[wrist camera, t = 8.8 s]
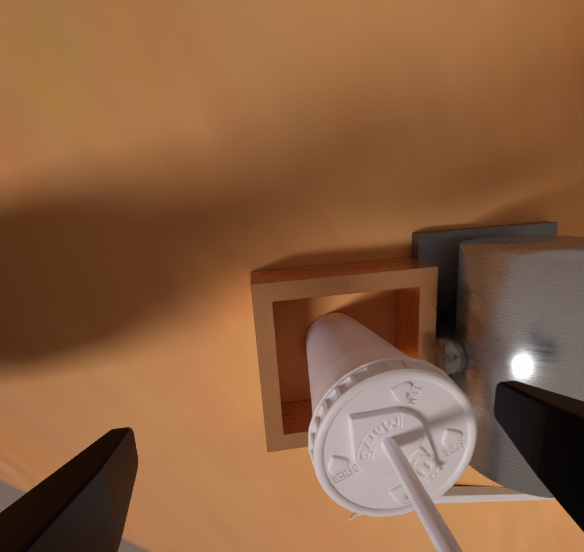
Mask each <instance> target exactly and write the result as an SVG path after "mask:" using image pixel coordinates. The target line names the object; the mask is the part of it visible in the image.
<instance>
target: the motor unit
mask: <svg viewBox="0 0 584 552" xmlns="http://www.w3.org/2000/svg"><path fill="white" fill-rule="evenodd" d="M557 225H558V222H547V221H546V222H534V223H522V224H511V225H499V226H487V227H475V228H463V229H452V230H440V231H428V232H416V233H412V257H406V258H395V259H385V260H374V261H363V262H352V263H341V264H331V265H320V266H309V267H298V268H287V269H277V270H266V271H255V272H250V273H251V292H252V302H253V312H254V322H255V332H256V342H257V352H258V362H259V372H260V382H261V392H262V402H263V412H264V422H265V432H266V443H267V452H274V451H280V450H287V449H294V448H300V447H307V446H308V432H309V425H310V422H311V419H312V416H313V415H312V402H311V400H304V401H297V402H289V403H282V404H281V400H280V388H279V376H278V365H277V353H276V341H275V329H274V317H273V306H272V302H273V301H283V300H293V299H302V298H312V297H322V296H332V295H341V294H351V293H361V292H371V291H381V290H390V289H396V348H397V349H398V350H400V351H401V352H403V353H404V354H406V355H408V356H409V357H411V358H415V359H419V360H424V361H427V362H429V363H431V364H432V365H434V366H436V367H438V368H440V369H441V370H443V371H444V372H445V373H446V374H447V375H448V376H449V377H450V378H451V379H452V380H453V381H454V382H455V384H456V385H457V386H458V387H459V388H460V389H461V390H462V391H463V392H464V393H465V395H466V396H467V398H468V399H469V401H470V403H471V405H472V407H473V410H474V413H475V416H476V422H477V438H476V444H475V448H474V452H473V454H472V457H471V460H470V462H469V465H470V466H471V467H472V468H474V469H475V470H476V471H478V472H479V473H481V474H482V475H484V476H485V477H487V478H489V479H490V480H492V481H494V482H496V483H498V484H500V485H502V486H505V487H507V488H510V489H512V490H515V491H518V492H521V493H525V494H528V495H533V496H538V497H545V498H555V497H554V496H553V495H552V494H551V493H550V492H549V490H548V489H547V488H546V487H545V486H544V484H543V483H542V482H541V481H540V480H539V478H538V477H537V476H536V474H535V473H534V472H533V470H532V469H531V468H530V466H529V465H528V464H527V462H526V461H525V459H524V458H523V457H522V455H521V454H520V453H519V451H518V450H517V448H516V447H515V446H514V444H513V443H512V441H511V440H510V439H509V437H508V436H507V434H506V433H505V432H504V430H503V429H502V427H501V426H500V425H499V423H498V422H497V420H496V418H495V416H494V412H493V408H494V398H495V389H496V385H497V384H498V383H499V382H503V381H511V380H514V381H519V382H522V383H525V384H528V385H532V386H535V387H538V388H542V389H545V390H548V391H552V392H555V393H558V394H561V395H565V396H568V397H571V398H575V399H578V400H581V401H584V237H575V236H557V235H556V233H557Z"/></svg>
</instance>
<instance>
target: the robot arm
mask: <svg viewBox="0 0 584 552" xmlns="http://www.w3.org/2000/svg"><path fill="white" fill-rule="evenodd" d="M493 412H494V416H495V418H496V420H497V422H498V423H499V425H500V426H501V427H502V429H503V430H504V432H505V433H506V434H507V436H508V437H509V439H510V440H511V441H512V443H513V444H514V446H515V447H516V448H517V450H518V451H519V453H520V454H521V455H522V457H523V458H524V459H525V461H526V462H527V464H528V465H529V466H530V468H531V469H532V470H533V472H534V473H535V474H536V476H537V477H538V478H539V480H540V481H541V482H542V483H543V484H544V486H545V487H546V488H547V489H548V490H549V492H550V493H551V494H552V495H553V496H554V497H555V499H556V500H557V501H558V502H559V503H560V505H561V506H562V507H563V508H564V509H565V510H566V512H567V513H568V514H569V515H570V516H571V518H572V519H573V520H574V521H575V522H576V523H577V525H578V526H579V527H580V528H581V529H582V531H583V532H584V401H581V400H578V399H575V398H571V397H568V396H565V395H561V394H558V393H555V392H552V391H548V390H545V389H542V388H538V387H535V386H532V385H528V384H525V383H522V382H519V381H514V380H511V381H503V382H499V383H498V384H497V385H496V389H495V398H494V408H493ZM137 469H138V455H137V449H136V443H135V438H134V432H133V430H132V429H131V428H130V427H126V428H118V429H112V430H110V431H109V432H107V433H106V434H105V435H103V436H102V437H101V438H99V439H98V440H97V441H95V442H94V443H93V444H91V445H90V446H89V447H87V448H86V449H85V450H83V451H82V452H81V453H79V454H78V455H77V456H75V457H74V458H73V459H71V460H70V461H69V462H67V463H66V464H65V465H63V466H62V467H61V468H59V469H58V470H57V471H55V472H54V473H53V474H51V475H50V476H49V477H47V478H46V479H45V480H43V481H42V482H41V483H39V484H38V485H37V486H35V487H34V488H33V489H31V490H30V491H29V492H27V493H26V494H25V495H24V496H22V497H21V498H19V499H18V500H17V501H15V502H14V503H13V504H11V505H10V506H9V507H7V508H6V509H5V510H3V511H2V512H1V513H0V552H118V548H119V545H120V542H121V538H122V534H123V530H124V526H125V521H126V517H127V513H128V508H129V504H130V500H131V495H132V491H133V487H134V482H135V478H136V474H137Z"/></svg>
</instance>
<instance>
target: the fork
mask: <svg viewBox="0 0 584 552" xmlns="http://www.w3.org/2000/svg"><path fill="white" fill-rule="evenodd" d="M553 499H555V498H545V497H538V496H533V495H528V494H525V493H521V492H518V491H515V490H512V489H510V488H505V487H482V486H452V487H451V488H450V489H449V490H448V491H447V492H446V493H444V494H443V495H442V496H441V497H439V498H438V499H436V500H435V501H433V503H459V502H490V501H522V500H553ZM351 512H353V511H351ZM359 515H361V514H359V513H354V514H352V515H351V516H350V517H349V520H352V519H353V518H355V517H357V516H359Z"/></svg>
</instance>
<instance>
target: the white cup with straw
mask: <svg viewBox="0 0 584 552" xmlns="http://www.w3.org/2000/svg"><path fill="white" fill-rule="evenodd" d="M306 351H307V361H308V371H309V382H310V392H311V402H312V415H313V416H312V419H311V422H310V425H309V432H308V449H309V452H310V456H311V460H312V463H313V466H314V468H315V472H316V475H317V478H318V480H319V482H320V484H321V486H322V488H323V489H324V490H325V492H326V493H327V494H328V495H329V496H330V497H331V498H332V499H333V500H334V501H335V502H336V503H338V504H339V505H341V506H342V507H344V508H346V509H348V510H350V511H353V512H355V513H359V514H362V515H368V516H377V517H388V516H396V515H402V514H405V513H409V512H412V511H416V513H417V514H418V516H419V518H420V520H421V522H422V524H423V526H424V528H425V530H426V531H427V533H428V535H429V537H430V539H431V541H432V543H433V545H434V547H435V548H436V550H437V552H463V551H462V550H461V548H460V546H459V545H458V543H457V541H456V540H455V538H454V536H453V535H452V533H451V531H450V530H449V528H448V526H447V525H446V523H445V521H444V520H443V518H442V516H441V515H440V513H439V511H438V510H437V508H436V506H435V505H434V503H433V501H435V500H436V499H438V498H439V497H441V496H442V495H443V494H444V493H446V492H447V491H448V490H449V489H450V488H451V487H452V486H453V485H454V484H455V483H456V482H457V480H458V479H459V478H460V477H461V475H462V474H463V473H464V471H465V469H466V467H467V465H468V464H469V462H470V460H471V457H472V454H473V452H474V448H475V444H476V438H477V422H476V416H475V413H474V410H473V407H472V405H471V403H470V401H469V399H468V398H467V396H466V395H465V393H464V392H463V391H462V390H461V389H460V388H459V387H458V386H457V385H456V384H455V382H454V381H453V380H452V379H451V378H450V377H449V376H448V375H447V374H446V373H445V372H444V371H443V370H441V369H440V368H438V367H436V366H434V365H432V364H431V363H429V362H427V361H424V360H419V359H415V358H411V357H409V356H408V355H406V354H404V353H403V352H401V351H400V350H398V349H397V348H395V347H394V346H393V345H391V344H390V343H388V342H387V341H385V340H384V339H382V338H381V337H379V336H378V335H377V334H375V333H374V332H372V331H371V330H369V329H368V328H366V327H365V326H363V325H362V324H361V323H359V322H358V321H356V320H355V319H353V318H352V317H350V316H348V315H346V314H343V313H329V314H326V315H323V316H321V317H320V318H318V319H317V320H316V321H315V322H314V323H313V324H312V325H311V326H310V328H309V330H308V332H307V335H306Z"/></svg>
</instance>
